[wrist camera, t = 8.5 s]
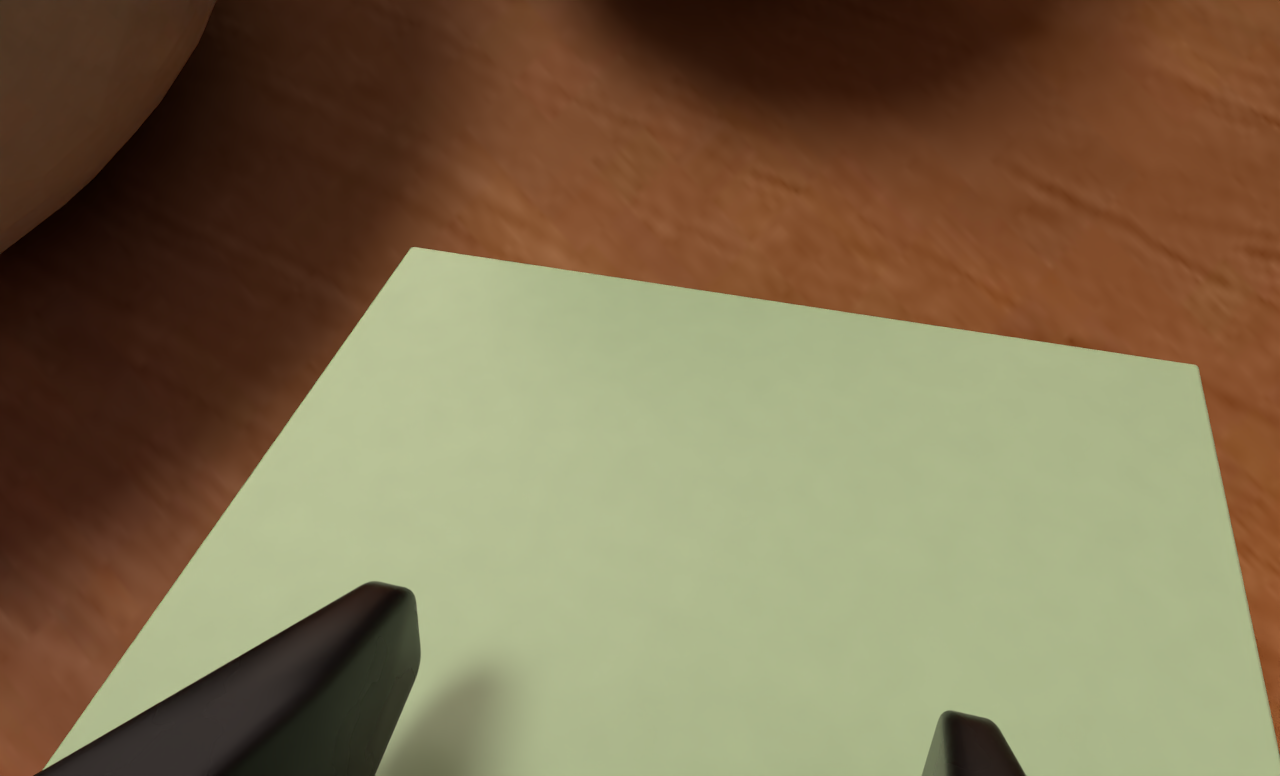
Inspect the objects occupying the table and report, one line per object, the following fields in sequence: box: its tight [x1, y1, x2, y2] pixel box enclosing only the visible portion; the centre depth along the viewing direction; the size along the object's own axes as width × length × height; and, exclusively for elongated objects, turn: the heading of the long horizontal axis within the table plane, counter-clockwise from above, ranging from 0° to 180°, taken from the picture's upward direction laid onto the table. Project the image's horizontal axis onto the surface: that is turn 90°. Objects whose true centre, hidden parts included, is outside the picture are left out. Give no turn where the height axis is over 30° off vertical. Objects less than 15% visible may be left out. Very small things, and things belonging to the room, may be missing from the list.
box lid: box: [43, 247, 1280, 776], centre depth 9 cm, size 12×12×5 cm
